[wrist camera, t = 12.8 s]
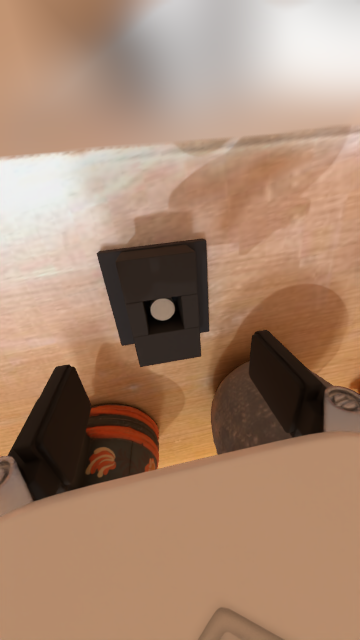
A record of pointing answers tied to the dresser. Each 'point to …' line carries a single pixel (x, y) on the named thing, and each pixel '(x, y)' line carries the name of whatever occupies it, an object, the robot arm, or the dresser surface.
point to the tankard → (116, 445)
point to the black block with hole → (157, 283)
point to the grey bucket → (244, 414)
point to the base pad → (118, 293)
